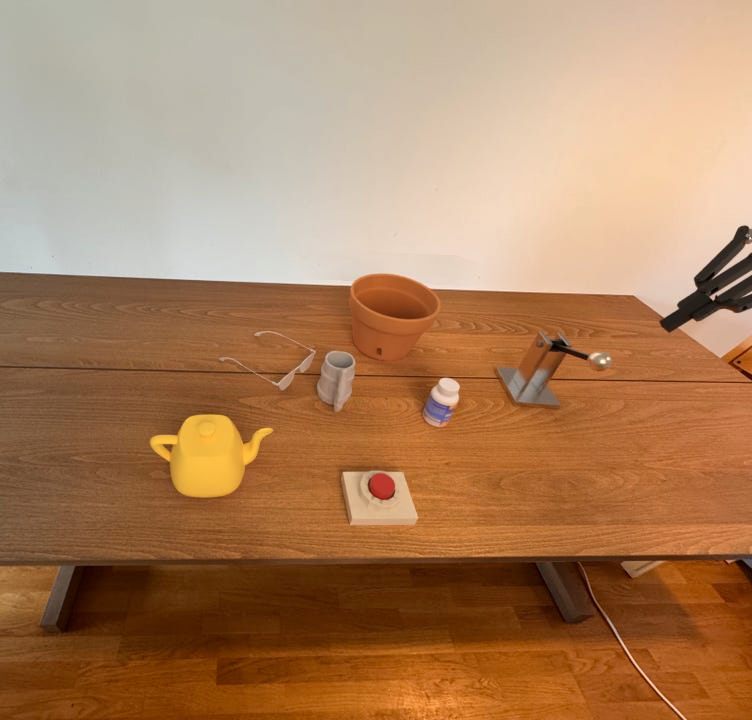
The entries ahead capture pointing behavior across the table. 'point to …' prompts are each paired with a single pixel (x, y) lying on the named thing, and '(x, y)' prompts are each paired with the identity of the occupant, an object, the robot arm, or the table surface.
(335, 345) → the table surface
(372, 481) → the button
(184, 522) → the table surface
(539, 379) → the bracket
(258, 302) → the table surface
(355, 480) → the button box
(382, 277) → the flower pot
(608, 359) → the lever
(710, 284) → the robot arm
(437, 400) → the pill bottle
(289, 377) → the eyeglasses
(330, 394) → the mug
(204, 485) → the teapot
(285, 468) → the table surface
